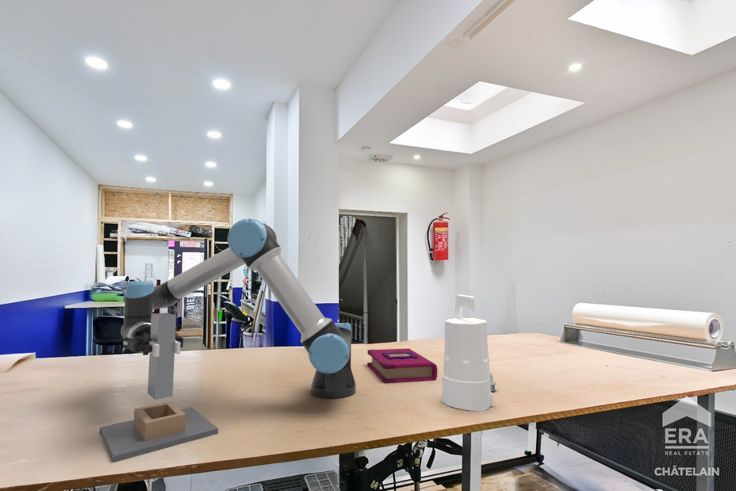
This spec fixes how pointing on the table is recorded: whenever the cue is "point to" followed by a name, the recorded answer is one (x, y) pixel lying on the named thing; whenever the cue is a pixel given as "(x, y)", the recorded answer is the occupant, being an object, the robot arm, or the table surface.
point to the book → (401, 366)
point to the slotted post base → (137, 446)
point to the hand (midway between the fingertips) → (168, 349)
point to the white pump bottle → (466, 360)
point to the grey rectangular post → (162, 356)
